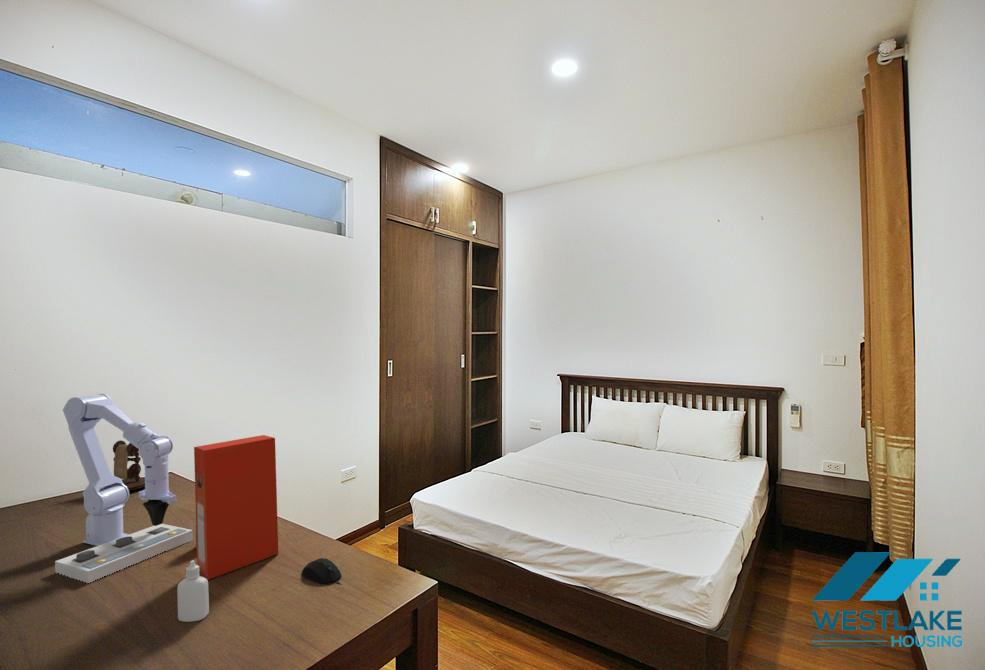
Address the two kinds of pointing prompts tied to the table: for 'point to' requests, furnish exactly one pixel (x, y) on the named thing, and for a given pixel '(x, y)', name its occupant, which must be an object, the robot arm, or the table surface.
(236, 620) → the table surface
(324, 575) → the gaming mouse
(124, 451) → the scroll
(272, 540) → the file binder
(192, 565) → the eye dropper bottle
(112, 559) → the button board
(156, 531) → the button
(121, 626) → the table surface
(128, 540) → the button middle
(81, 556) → the button
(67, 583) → the table surface
